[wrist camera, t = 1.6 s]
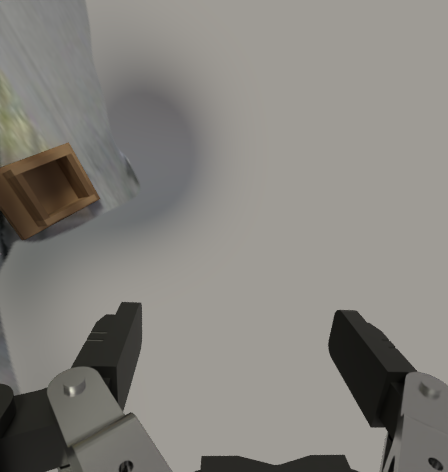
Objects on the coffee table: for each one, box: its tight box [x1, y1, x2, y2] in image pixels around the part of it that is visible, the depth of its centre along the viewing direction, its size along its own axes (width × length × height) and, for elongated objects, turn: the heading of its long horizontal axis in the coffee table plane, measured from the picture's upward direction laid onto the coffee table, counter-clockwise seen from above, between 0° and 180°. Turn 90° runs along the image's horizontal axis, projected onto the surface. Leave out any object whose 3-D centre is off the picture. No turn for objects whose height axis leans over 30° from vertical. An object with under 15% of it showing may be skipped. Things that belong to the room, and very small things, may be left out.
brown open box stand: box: [0, 142, 100, 240], centre depth 41 cm, size 12×9×5 cm
